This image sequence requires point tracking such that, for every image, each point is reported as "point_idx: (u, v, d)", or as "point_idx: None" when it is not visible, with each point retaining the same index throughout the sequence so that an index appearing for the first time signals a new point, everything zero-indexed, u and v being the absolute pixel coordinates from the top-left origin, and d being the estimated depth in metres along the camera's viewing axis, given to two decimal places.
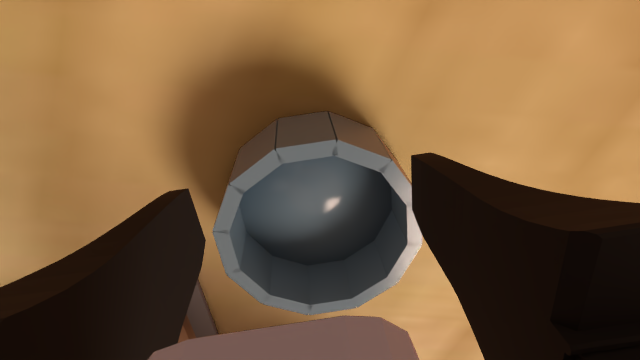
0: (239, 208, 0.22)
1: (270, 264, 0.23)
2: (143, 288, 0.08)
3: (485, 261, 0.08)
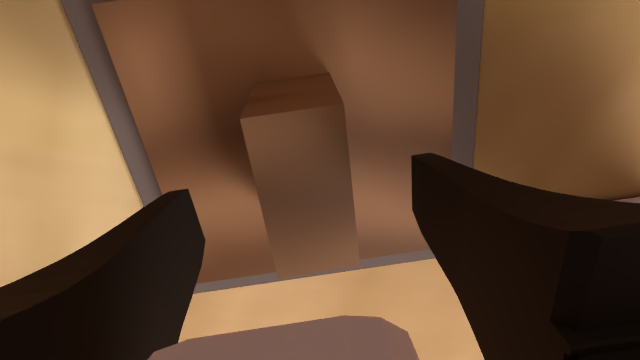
0: None
1: None
2: (143, 288, 0.08)
3: (485, 261, 0.08)
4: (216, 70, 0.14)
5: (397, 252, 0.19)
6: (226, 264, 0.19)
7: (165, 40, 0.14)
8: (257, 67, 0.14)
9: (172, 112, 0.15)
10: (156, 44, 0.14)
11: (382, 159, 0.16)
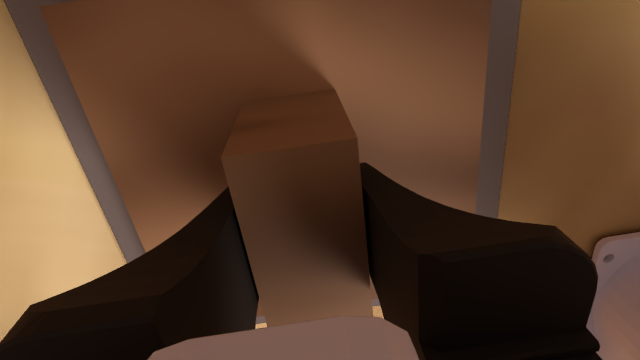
0: None
1: None
2: (233, 275, 0.08)
3: (388, 275, 0.08)
4: (198, 87, 0.12)
5: None
6: None
7: (133, 50, 0.11)
8: (247, 82, 0.12)
9: (145, 136, 0.12)
10: (122, 55, 0.11)
11: None
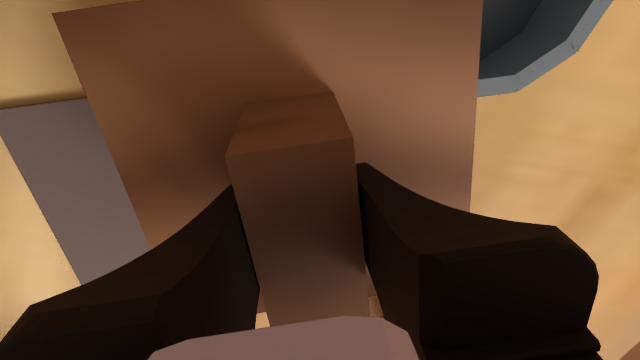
0: None
1: None
2: (232, 275, 0.08)
3: (389, 275, 0.08)
4: (202, 89, 0.12)
5: None
6: None
7: (141, 55, 0.12)
8: (249, 85, 0.12)
9: (151, 137, 0.13)
10: (130, 59, 0.12)
11: None
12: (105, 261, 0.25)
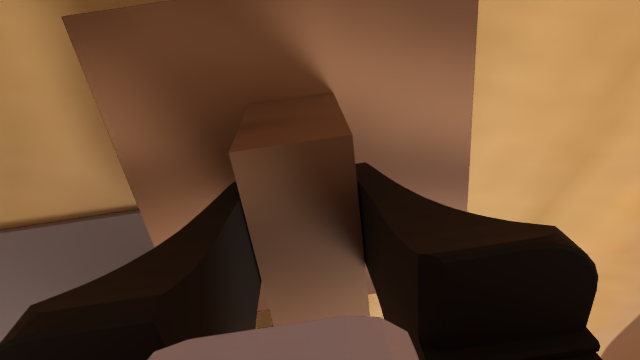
0: None
1: None
2: (233, 275, 0.08)
3: (388, 275, 0.08)
4: (205, 90, 0.13)
5: None
6: None
7: (147, 57, 0.12)
8: (251, 86, 0.13)
9: (156, 137, 0.13)
10: (136, 61, 0.12)
11: None
12: None
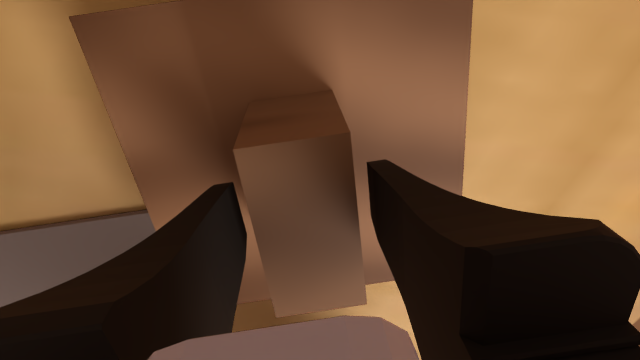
0: None
1: None
2: (205, 279, 0.08)
3: (418, 271, 0.08)
4: (208, 88, 0.13)
5: None
6: None
7: (152, 55, 0.12)
8: (253, 84, 0.13)
9: (160, 133, 0.14)
10: (142, 60, 0.12)
11: None
12: None
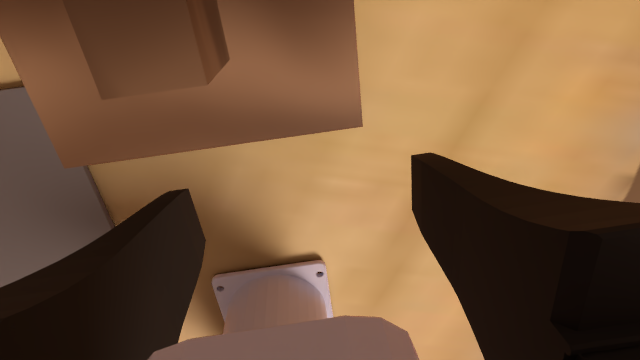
0: None
1: None
2: (143, 288, 0.08)
3: (485, 260, 0.08)
4: None
5: (303, 132, 0.16)
6: (97, 142, 0.16)
7: None
8: None
9: None
10: None
11: None
12: None
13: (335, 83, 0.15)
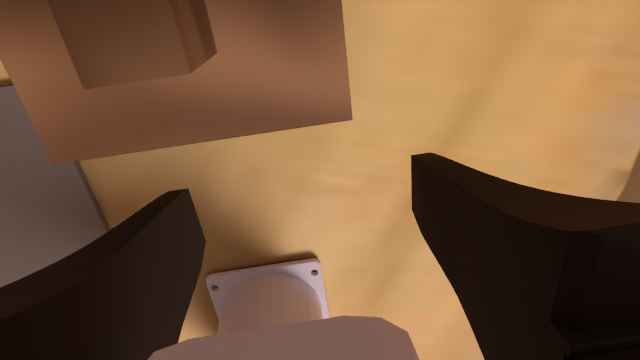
0: None
1: None
2: (143, 288, 0.08)
3: (485, 261, 0.08)
4: None
5: (292, 126, 0.16)
6: (86, 137, 0.16)
7: None
8: None
9: None
10: None
11: None
12: None
13: (324, 76, 0.15)
